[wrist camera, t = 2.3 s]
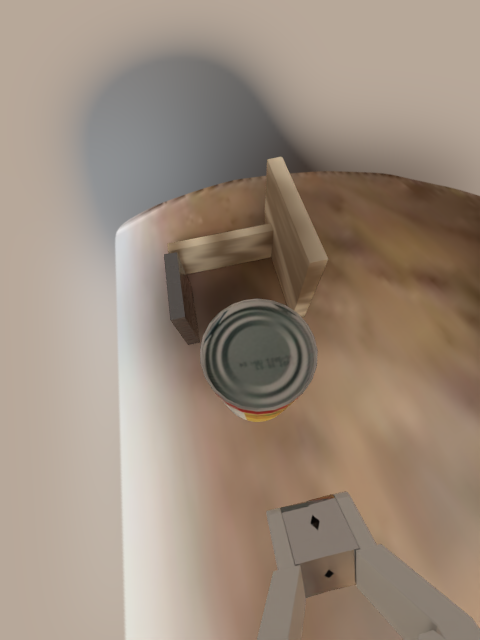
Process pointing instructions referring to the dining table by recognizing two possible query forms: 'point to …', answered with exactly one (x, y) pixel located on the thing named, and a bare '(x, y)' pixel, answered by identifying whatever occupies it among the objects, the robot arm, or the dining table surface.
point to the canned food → (258, 357)
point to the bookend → (180, 299)
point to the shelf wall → (268, 242)
